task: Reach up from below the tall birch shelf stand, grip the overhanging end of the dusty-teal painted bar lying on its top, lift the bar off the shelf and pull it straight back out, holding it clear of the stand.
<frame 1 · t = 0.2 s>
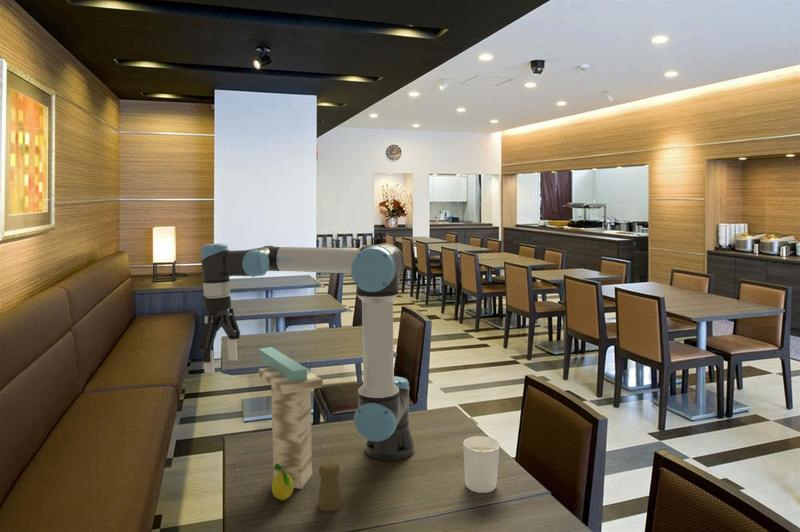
hand: (221, 366, 169), 28 cm above the table, tool pointing down, fingers open, 13 cm apart
lemon: (282, 500, 146), on the table
candle holder: (480, 486, 154), on the table
stand: (293, 480, 157), on the table
cork: (329, 505, 144), on the table
bar: (281, 368, 159), point 30 cm above the table, touching stand
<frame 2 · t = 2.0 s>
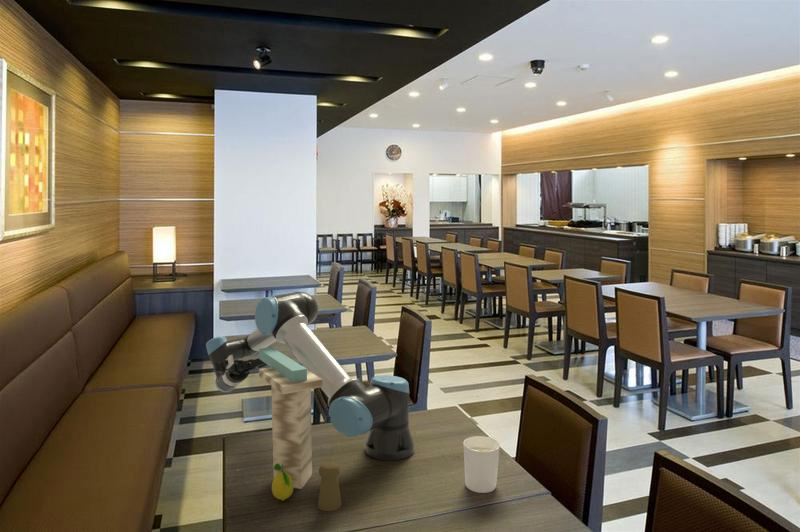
hand: (253, 355, 179), 28 cm above the table, tool pointing upward, fingers open, 13 cm apart
nothing on the table moved.
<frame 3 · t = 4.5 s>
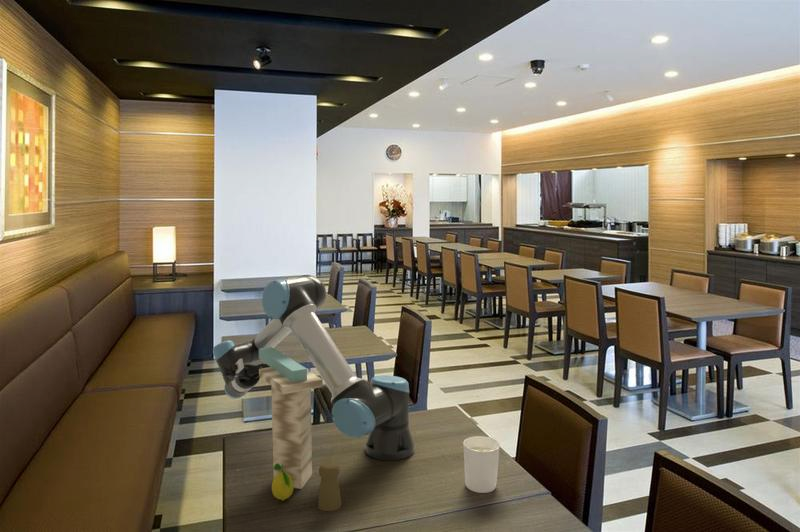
hand: (264, 359, 170), 29 cm above the table, tool pointing upward, fingers open, 13 cm apart
nothing on the table moved.
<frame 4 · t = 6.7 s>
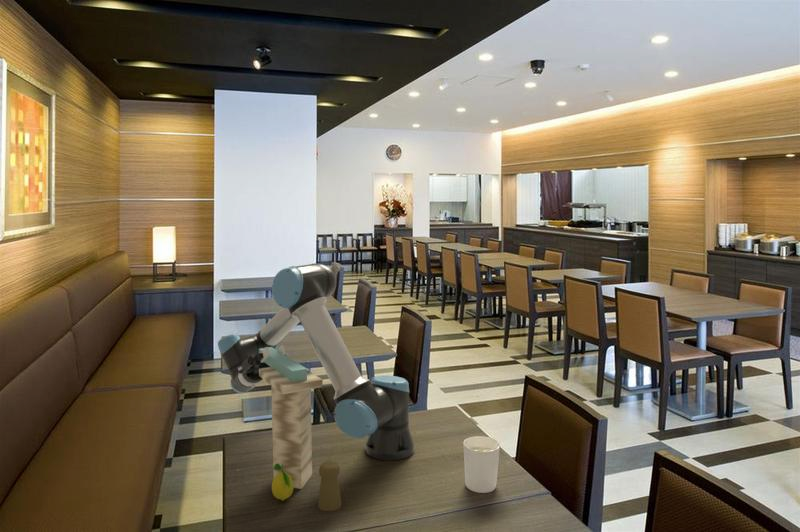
hand: (275, 350, 162), 34 cm above the table, tool pointing upward, fingers closed on bar, 4 cm apart
bar: (281, 368, 159), point 30 cm above the table, touching gripper, stand
everything else where it was.
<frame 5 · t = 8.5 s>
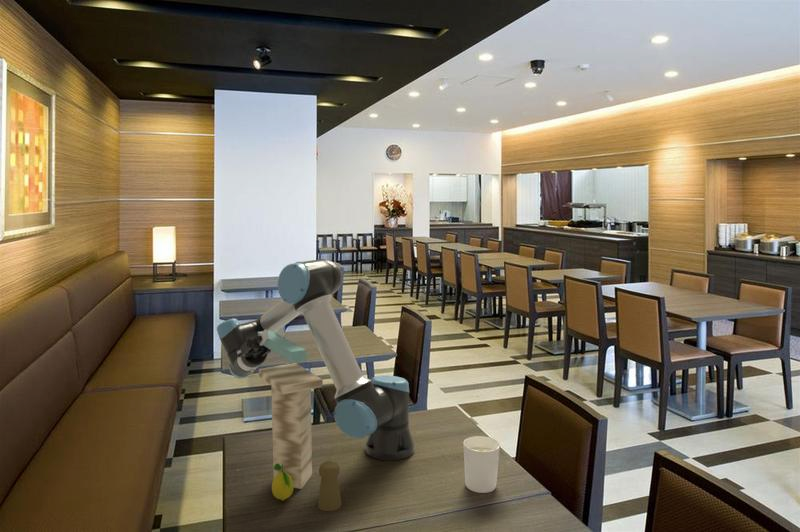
hand: (274, 333, 162), 39 cm above the table, tool pointing upward, fingers closed on bar, 4 cm apart
bar: (280, 350, 159), point 35 cm above the table, touching gripper
everything else where it was.
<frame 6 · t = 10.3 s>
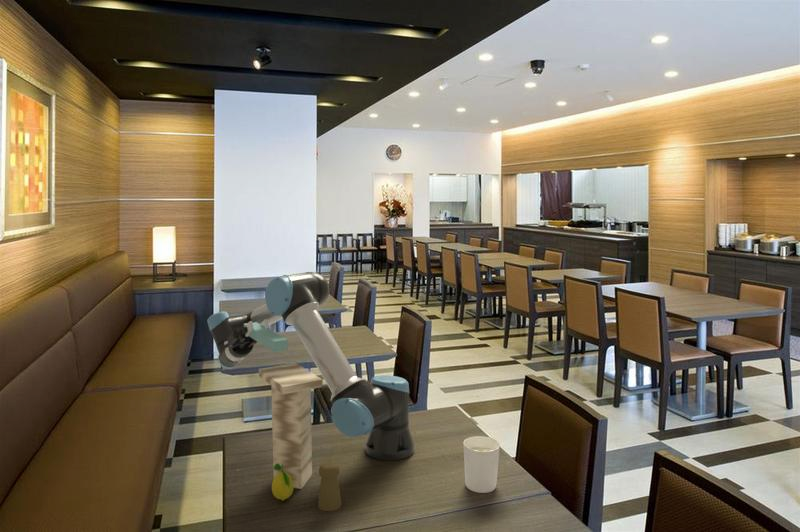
hand: (259, 324, 171), 40 cm above the table, tool pointing upward, fingers closed on bar, 4 cm apart
bar: (264, 341, 168), point 36 cm above the table, touching gripper
everything else where it was.
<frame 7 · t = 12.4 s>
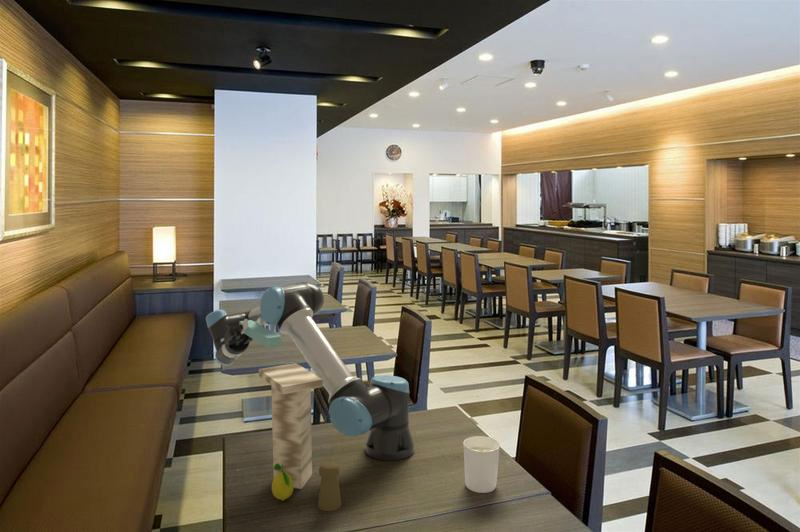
hand: (254, 322, 177), 39 cm above the table, tool pointing upward, fingers closed on bar, 4 cm apart
bar: (259, 338, 173), point 35 cm above the table, touching gripper
everything else where it was.
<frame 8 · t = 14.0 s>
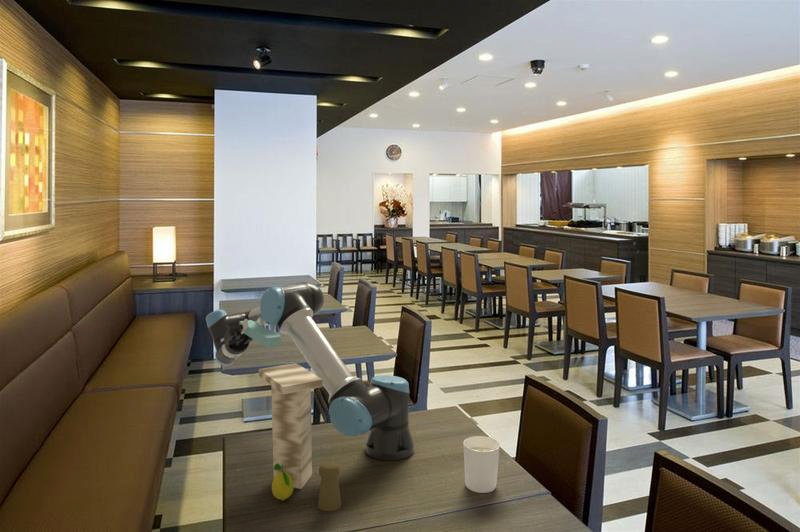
hand: (254, 322, 177), 39 cm above the table, tool pointing upward, fingers closed on bar, 4 cm apart
bar: (259, 338, 173), point 35 cm above the table, touching gripper
everything else where it was.
at the end: the gripper is holding bar; bar touching gripper; bar moved 18.6 cm from its start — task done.
